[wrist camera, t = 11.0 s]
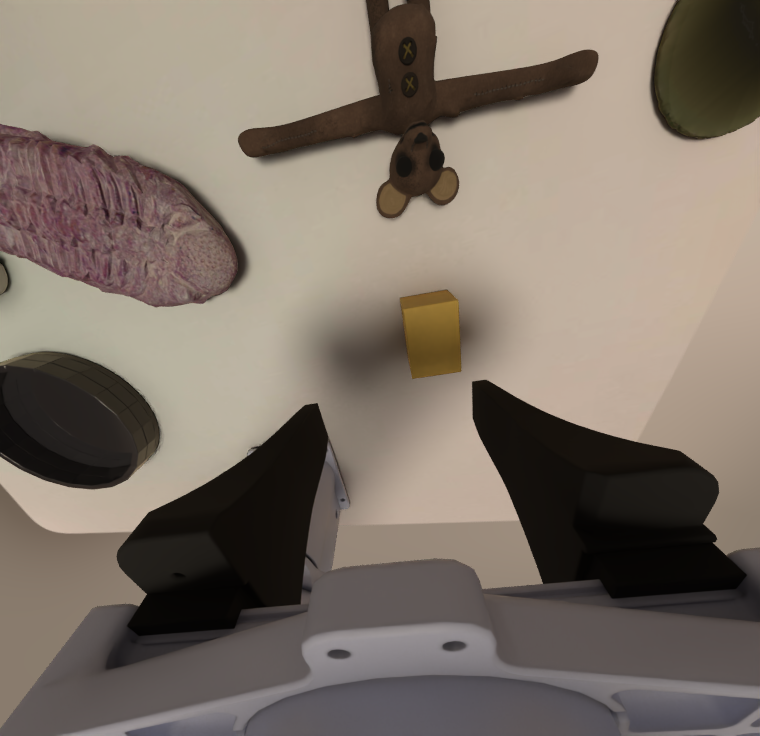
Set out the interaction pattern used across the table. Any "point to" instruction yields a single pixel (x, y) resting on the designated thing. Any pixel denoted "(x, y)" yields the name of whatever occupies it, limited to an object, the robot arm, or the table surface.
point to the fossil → (108, 222)
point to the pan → (72, 421)
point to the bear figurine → (415, 104)
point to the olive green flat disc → (710, 67)
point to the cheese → (432, 333)
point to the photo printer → (3, 279)
